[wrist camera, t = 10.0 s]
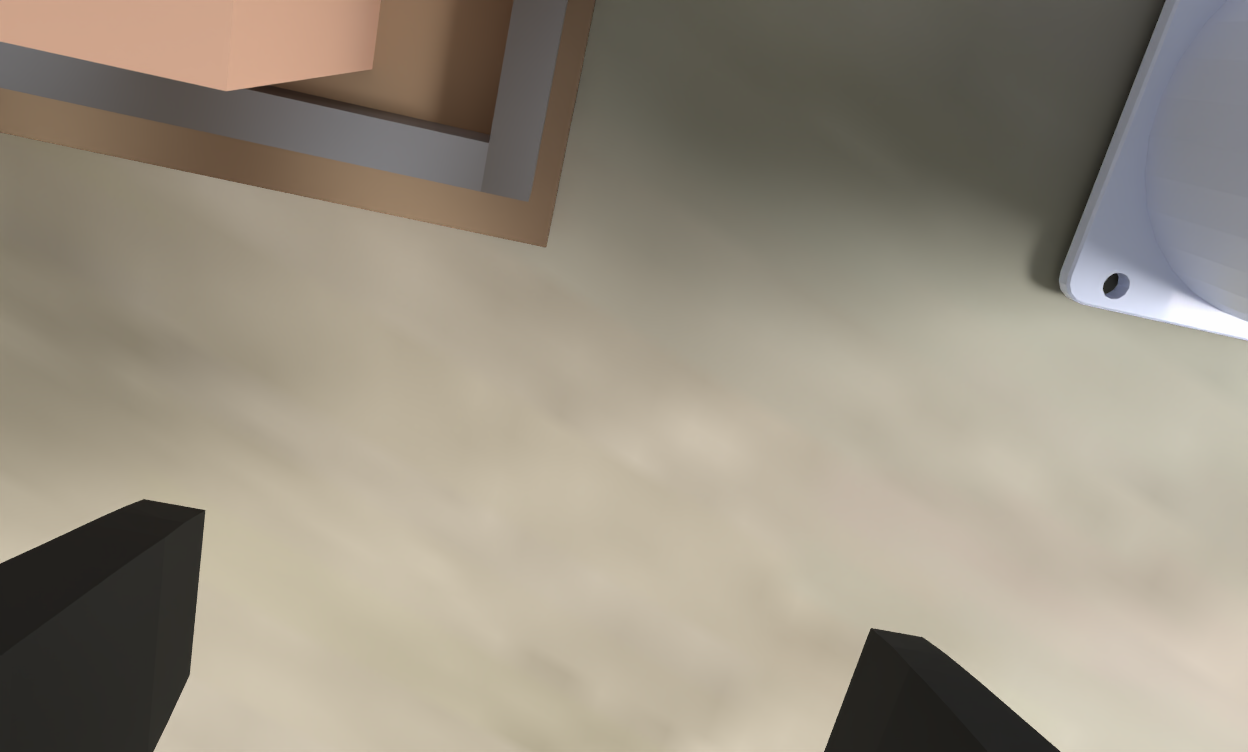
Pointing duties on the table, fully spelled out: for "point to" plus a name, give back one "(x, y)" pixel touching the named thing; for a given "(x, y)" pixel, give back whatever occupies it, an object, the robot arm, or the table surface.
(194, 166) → the brown flat tray
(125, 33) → the pinkish brown block
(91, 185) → the table surface
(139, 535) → the robot arm
